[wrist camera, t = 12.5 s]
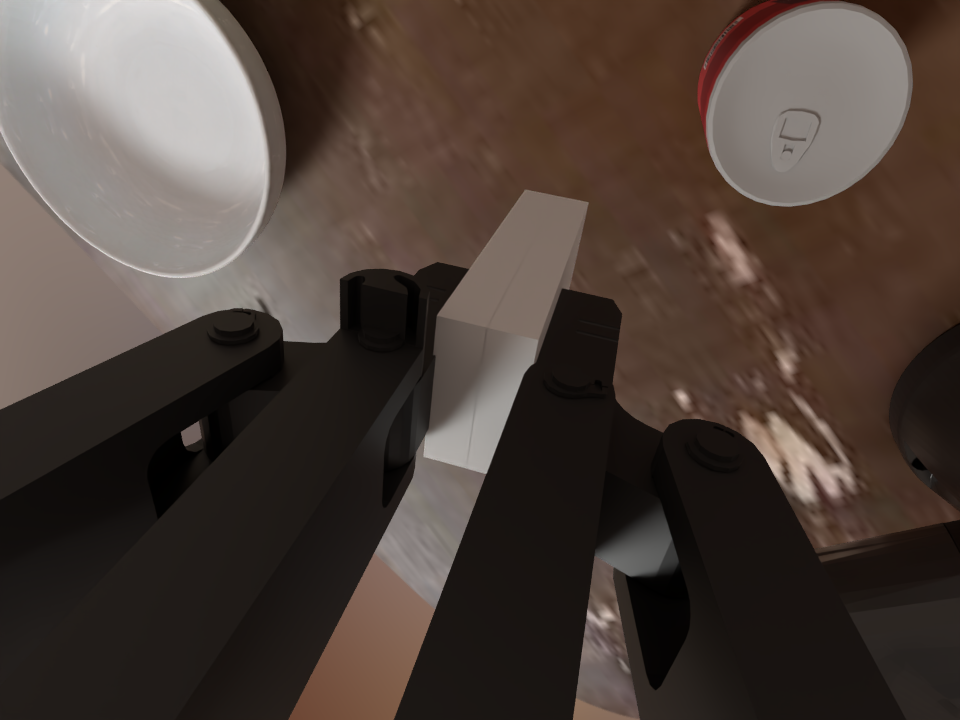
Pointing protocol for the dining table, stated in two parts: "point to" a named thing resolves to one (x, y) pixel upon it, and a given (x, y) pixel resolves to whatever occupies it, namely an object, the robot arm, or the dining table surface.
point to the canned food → (803, 98)
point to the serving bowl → (144, 126)
